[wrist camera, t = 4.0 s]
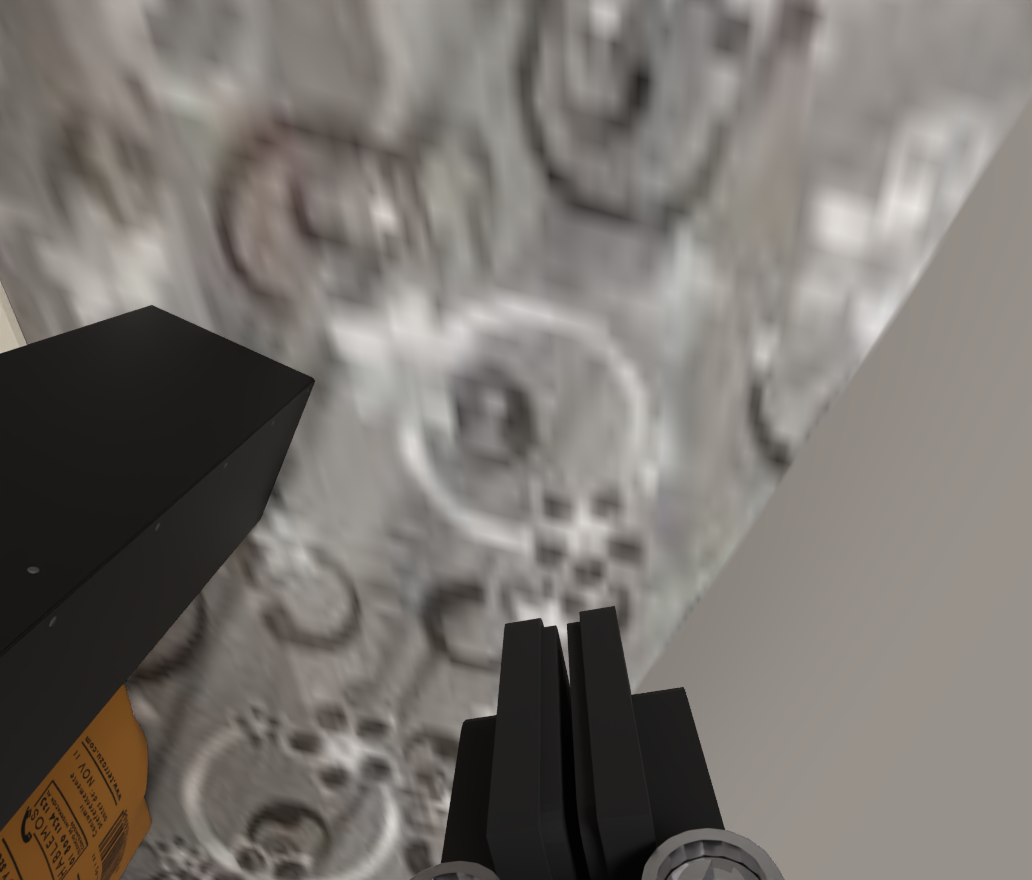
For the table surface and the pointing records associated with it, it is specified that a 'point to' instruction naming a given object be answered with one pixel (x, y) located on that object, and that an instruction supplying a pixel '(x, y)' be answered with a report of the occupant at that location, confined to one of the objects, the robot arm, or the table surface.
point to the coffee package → (85, 806)
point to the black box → (119, 509)
